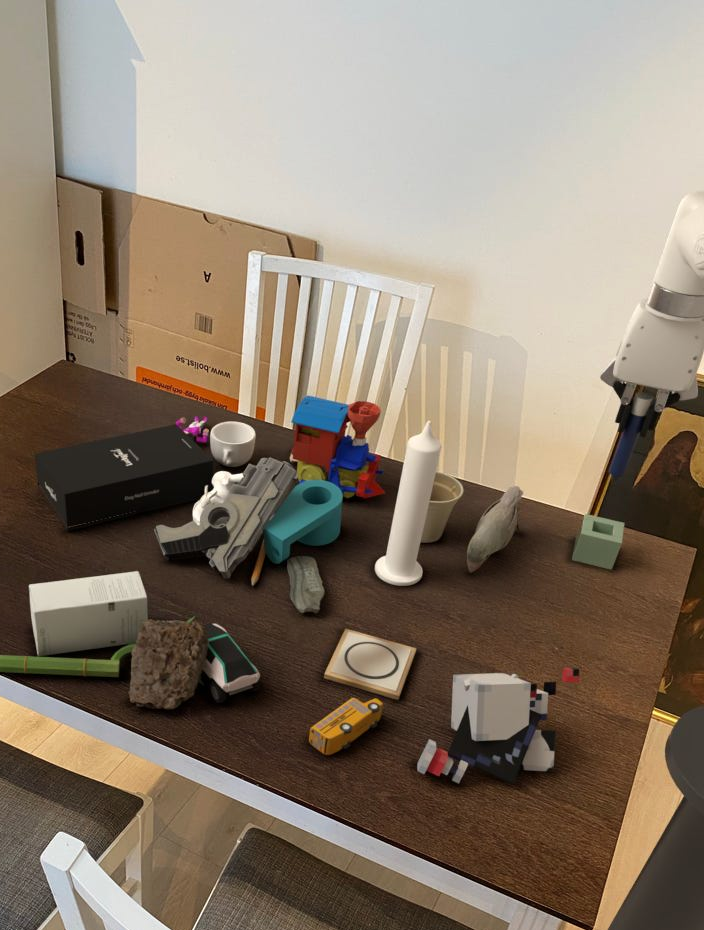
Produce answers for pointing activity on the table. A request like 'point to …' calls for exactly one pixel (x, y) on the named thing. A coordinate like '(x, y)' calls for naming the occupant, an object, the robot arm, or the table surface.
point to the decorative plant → (67, 664)
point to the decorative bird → (494, 528)
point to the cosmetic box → (87, 612)
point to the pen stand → (598, 541)
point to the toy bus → (345, 725)
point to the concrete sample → (167, 663)
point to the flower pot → (440, 505)
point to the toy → (496, 727)
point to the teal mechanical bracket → (304, 519)
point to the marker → (630, 435)
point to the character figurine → (195, 429)
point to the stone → (305, 584)
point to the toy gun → (232, 519)
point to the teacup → (232, 443)
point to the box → (123, 475)
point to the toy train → (336, 445)
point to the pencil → (259, 564)
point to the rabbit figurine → (216, 494)
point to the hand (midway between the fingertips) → (632, 429)
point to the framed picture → (370, 664)
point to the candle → (410, 511)
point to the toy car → (227, 665)
